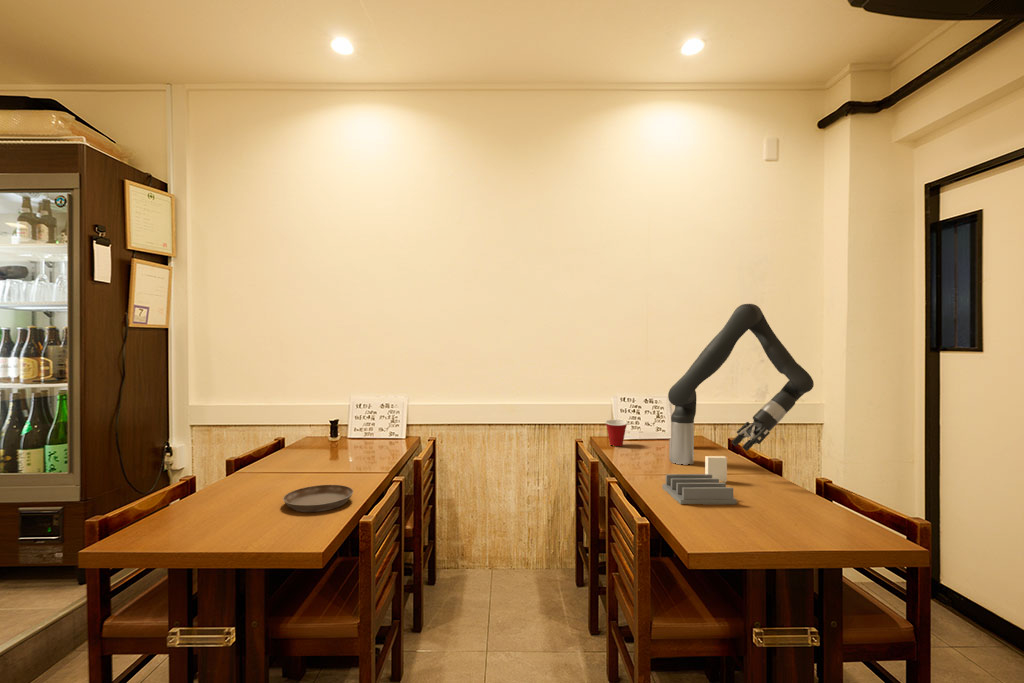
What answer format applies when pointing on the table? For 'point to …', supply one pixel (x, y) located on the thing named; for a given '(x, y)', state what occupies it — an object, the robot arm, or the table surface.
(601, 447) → the table surface
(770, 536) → the table surface
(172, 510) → the table surface
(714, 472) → the tall cream block
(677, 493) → the dish rack
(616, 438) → the plastic cup
